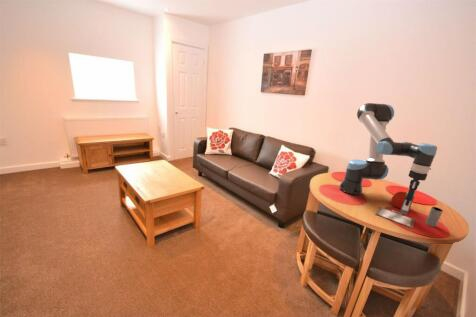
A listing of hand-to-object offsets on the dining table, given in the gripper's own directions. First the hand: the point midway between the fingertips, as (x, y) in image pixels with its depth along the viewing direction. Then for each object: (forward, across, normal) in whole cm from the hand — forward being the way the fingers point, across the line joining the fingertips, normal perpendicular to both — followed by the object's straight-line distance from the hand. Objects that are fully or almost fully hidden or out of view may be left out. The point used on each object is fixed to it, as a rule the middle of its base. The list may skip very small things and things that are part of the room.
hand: (405, 208), depth 122 cm
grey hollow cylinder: (+6, +5, -13) cm, 15 cm away
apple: (+6, +16, +3) cm, 18 cm away
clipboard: (+6, -3, +3) cm, 7 cm away
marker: (+3, 0, 0) cm, 3 cm away
